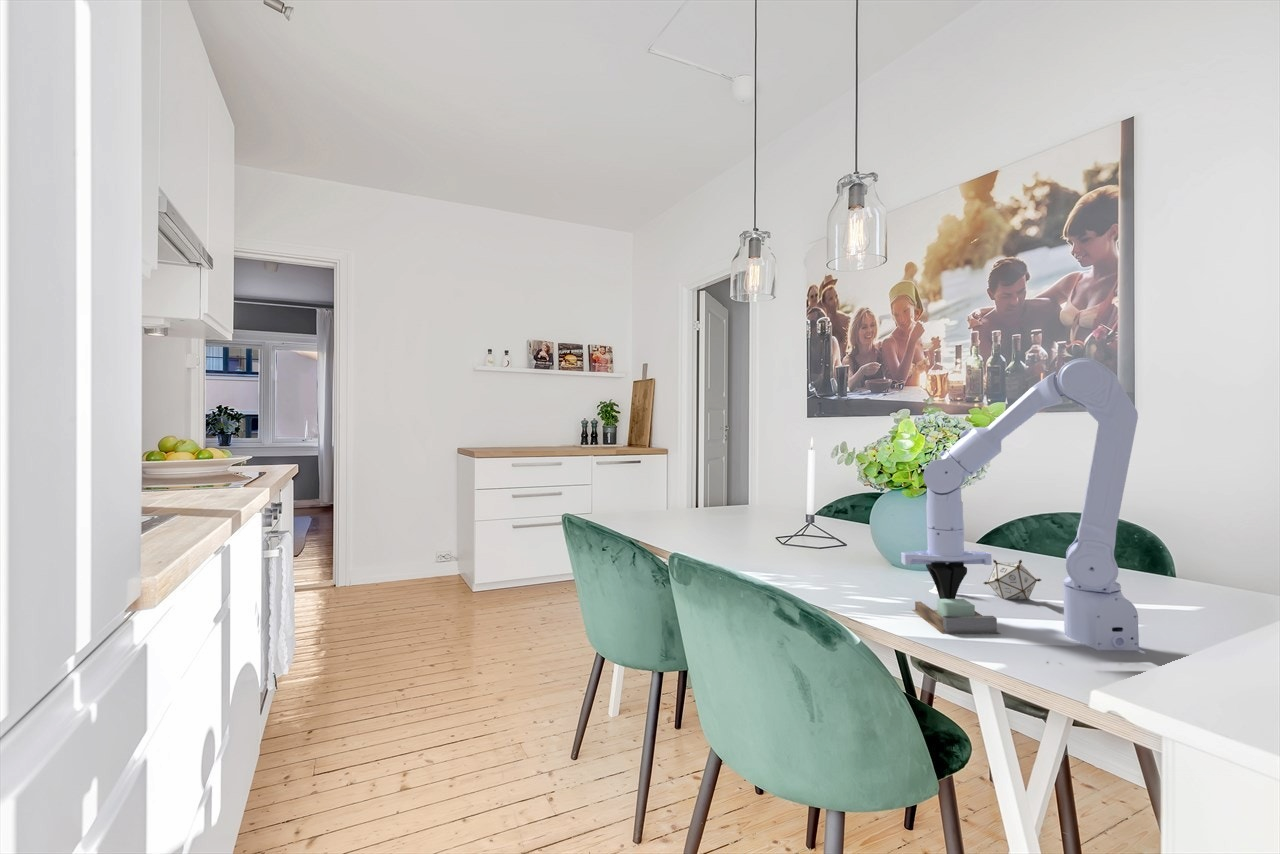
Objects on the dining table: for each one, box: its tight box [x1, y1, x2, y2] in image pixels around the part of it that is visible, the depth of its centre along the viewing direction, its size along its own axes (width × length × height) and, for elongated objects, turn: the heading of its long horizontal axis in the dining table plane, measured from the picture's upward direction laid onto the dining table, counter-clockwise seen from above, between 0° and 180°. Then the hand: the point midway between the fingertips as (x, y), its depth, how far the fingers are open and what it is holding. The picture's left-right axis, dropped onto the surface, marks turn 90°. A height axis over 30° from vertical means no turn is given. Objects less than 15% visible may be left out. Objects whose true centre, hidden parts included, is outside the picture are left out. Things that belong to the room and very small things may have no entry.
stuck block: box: [936, 598, 976, 617], centre depth 102 cm, size 4×4×4 cm
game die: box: [982, 559, 1042, 600], centre depth 117 cm, size 9×8×10 cm
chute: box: [911, 601, 1001, 635], centre depth 103 cm, size 13×9×4 cm
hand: (947, 605), depth 106 cm, fingers closed, pressing on stuck block
